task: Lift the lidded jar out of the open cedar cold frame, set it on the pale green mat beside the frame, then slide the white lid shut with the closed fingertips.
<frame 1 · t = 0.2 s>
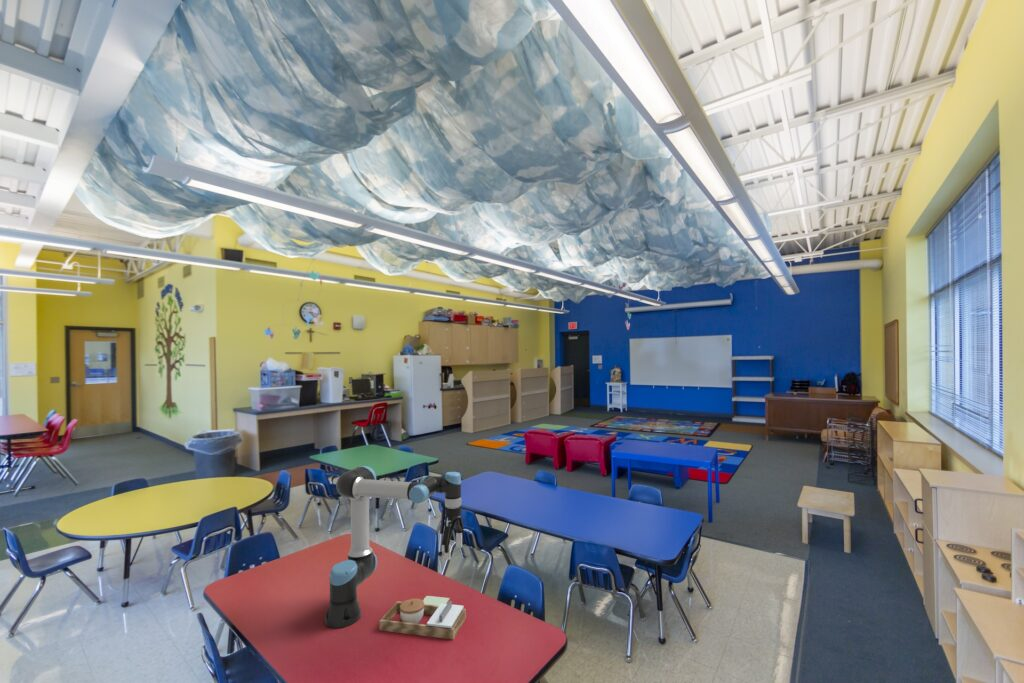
hand: (453, 553, 201), 27 cm above the table, fingers open, 13 cm apart
lid: (445, 612, 190), point 6 cm above the table, slide at 0.0 cm
cold frame: (423, 623, 192), on the table
mat: (433, 604, 208), on the table
lidded jar: (412, 623, 193), resting in cold frame
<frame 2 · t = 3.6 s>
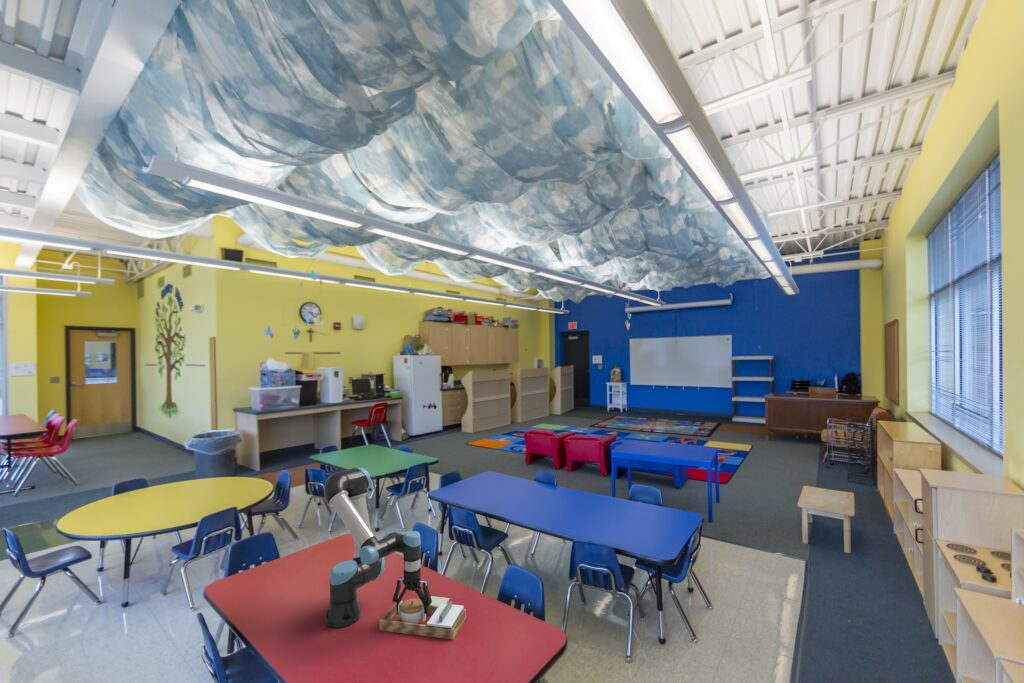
hand: (412, 619, 194), 1 cm above the table, fingers closed on lidded jar, 11 cm apart
lidded jar: (412, 622, 193), resting in cold frame, touching gripper
everything else where it was.
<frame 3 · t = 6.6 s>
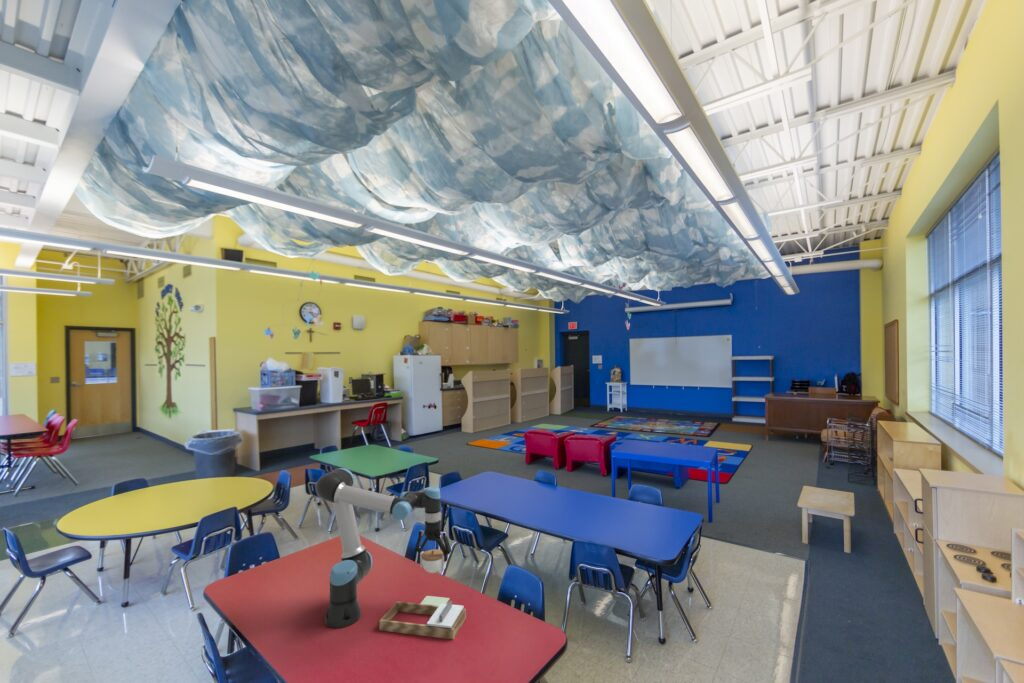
hand: (432, 567, 209), 18 cm above the table, fingers closed on lidded jar, 11 cm apart
lidded jar: (432, 570, 209), point 16 cm above the table, touching gripper
everything else where it was.
when the fingers open (3 cm above the table, at t = 10.1 s): lidded jar drops 1 cm, resting on mat.
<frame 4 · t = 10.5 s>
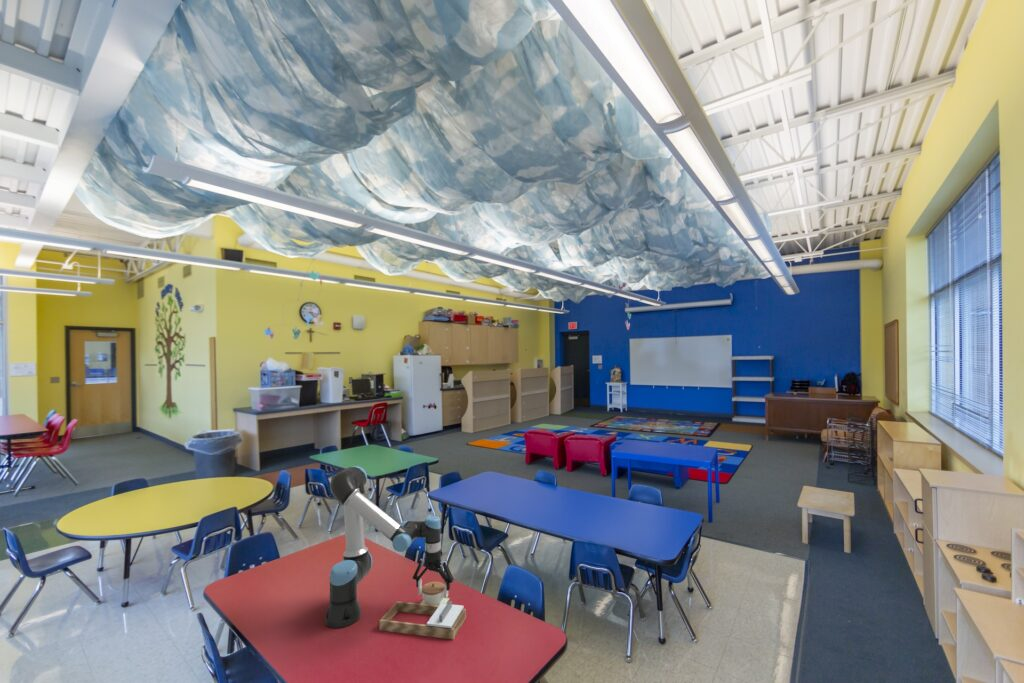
hand: (433, 595, 208), 4 cm above the table, fingers open, 13 cm apart
lidded jar: (433, 603, 208), resting on mat
everything else where it was.
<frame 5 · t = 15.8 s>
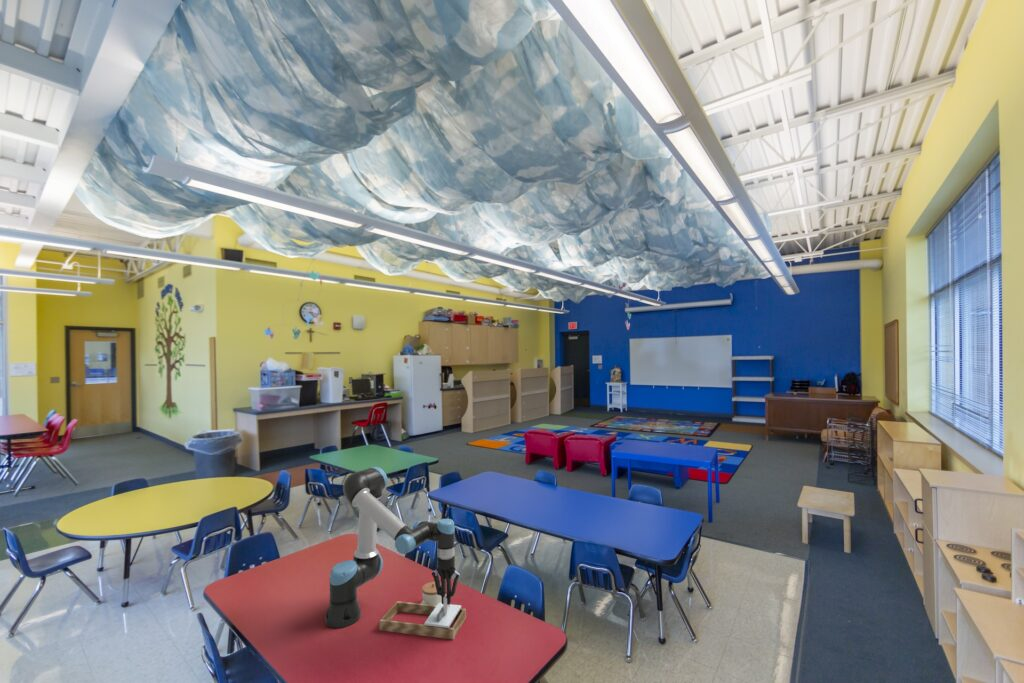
hand: (446, 611, 190), 6 cm above the table, fingers closed
lid: (443, 611, 191), point 6 cm above the table, slide at 1.1 cm, touching gripper
everything else where it was.
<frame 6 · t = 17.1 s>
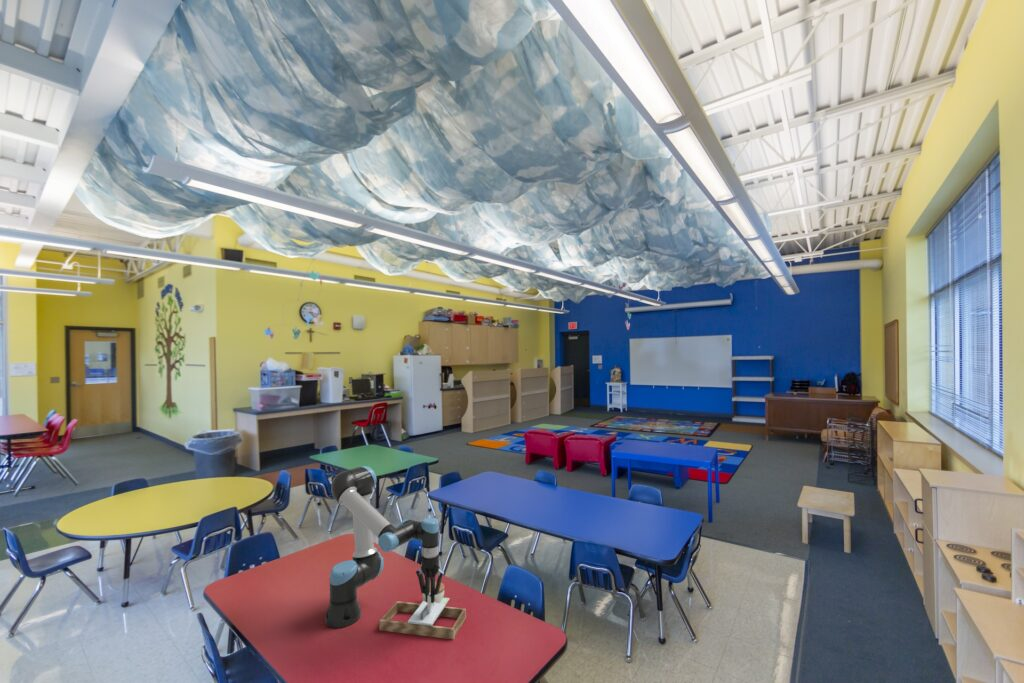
hand: (430, 609, 192), 6 cm above the table, fingers closed
lid: (427, 610, 192), point 6 cm above the table, slide at 8.7 cm, touching gripper
everything else where it was.
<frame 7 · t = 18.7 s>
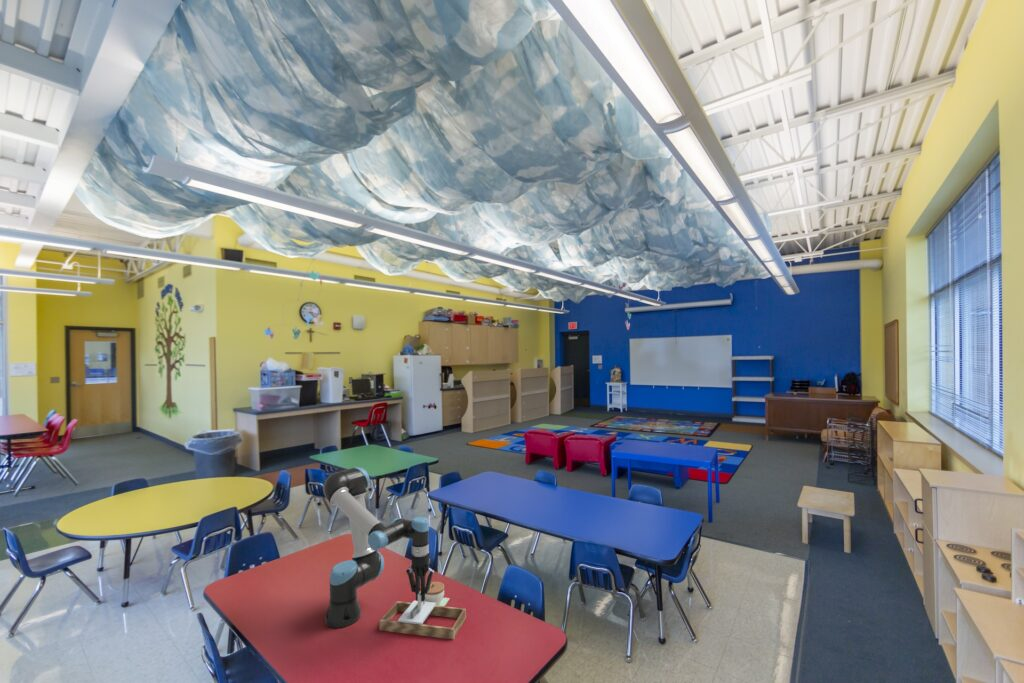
hand: (420, 608, 193), 7 cm above the table, fingers closed
lid: (417, 608, 193), point 6 cm above the table, slide at 13.3 cm, touching gripper
everything else where it was.
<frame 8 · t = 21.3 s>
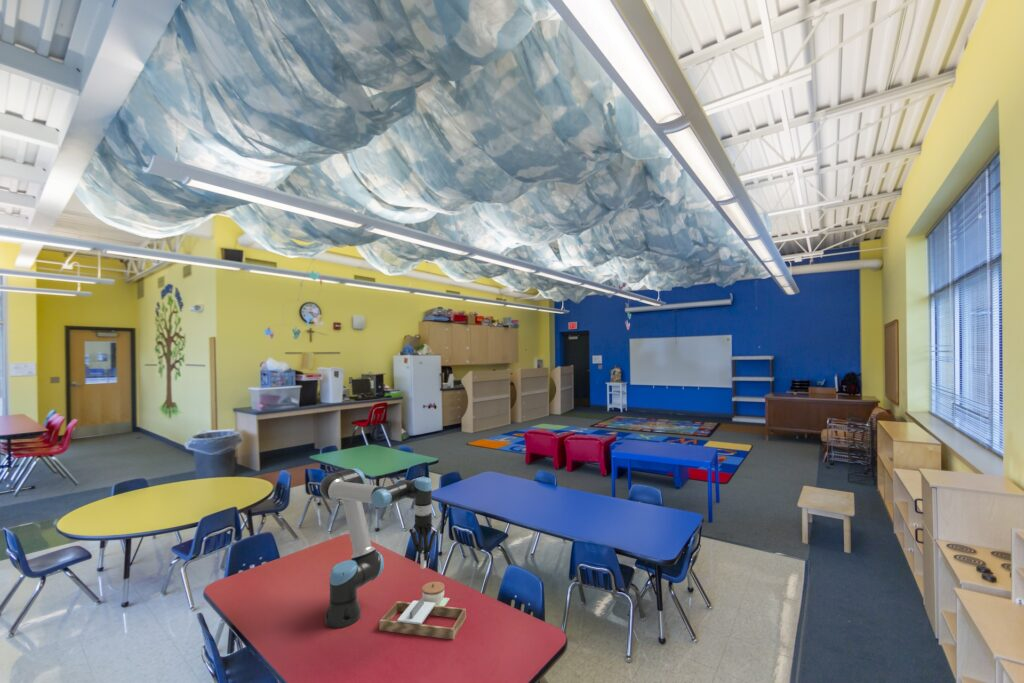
hand: (423, 567, 194), 24 cm above the table, fingers closed
lid: (417, 608, 193), point 6 cm above the table, slide at 13.6 cm
everything else where it was.
at the end: lidded jar inside the target area on the mat (0.2 cm from its centre), point 0.4 cm above the mat's base; lidded jar tilted 0°; lid slide at 13.6 cm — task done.
